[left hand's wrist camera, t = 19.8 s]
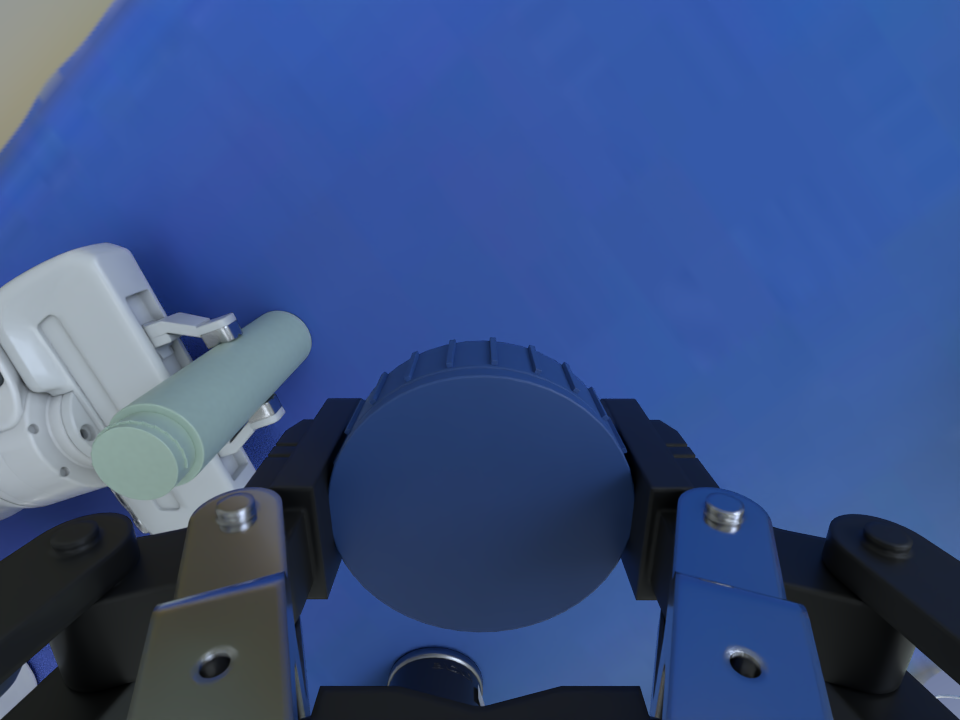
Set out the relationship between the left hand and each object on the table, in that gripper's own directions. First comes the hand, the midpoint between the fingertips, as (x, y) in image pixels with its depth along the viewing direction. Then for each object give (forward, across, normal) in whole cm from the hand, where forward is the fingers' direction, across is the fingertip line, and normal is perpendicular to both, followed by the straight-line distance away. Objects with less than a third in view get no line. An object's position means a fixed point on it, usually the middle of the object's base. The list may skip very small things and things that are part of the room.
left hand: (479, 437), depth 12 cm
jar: (+27, +15, +6) cm, 32 cm away
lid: (-3, 0, 0) cm, 3 cm away
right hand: (+21, +14, +6) cm, 26 cm away
